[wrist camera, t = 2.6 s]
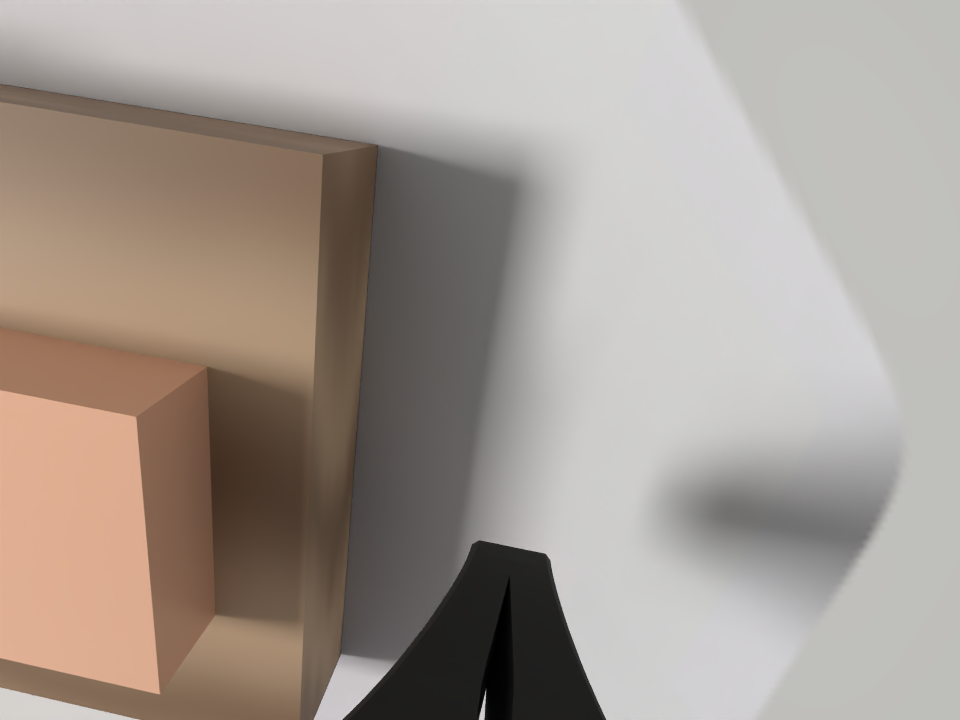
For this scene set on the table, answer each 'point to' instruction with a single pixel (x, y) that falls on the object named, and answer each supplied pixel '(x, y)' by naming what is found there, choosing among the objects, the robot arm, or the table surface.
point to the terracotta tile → (103, 510)
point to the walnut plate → (211, 357)
